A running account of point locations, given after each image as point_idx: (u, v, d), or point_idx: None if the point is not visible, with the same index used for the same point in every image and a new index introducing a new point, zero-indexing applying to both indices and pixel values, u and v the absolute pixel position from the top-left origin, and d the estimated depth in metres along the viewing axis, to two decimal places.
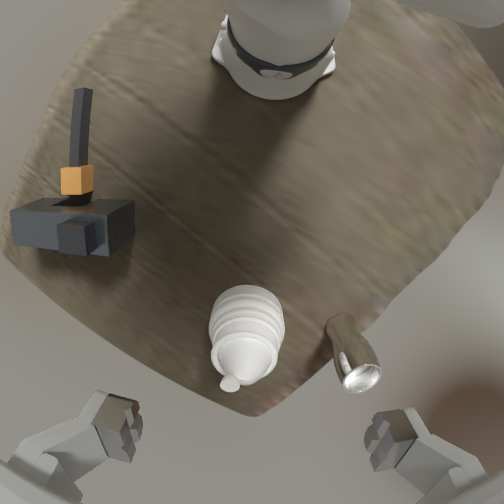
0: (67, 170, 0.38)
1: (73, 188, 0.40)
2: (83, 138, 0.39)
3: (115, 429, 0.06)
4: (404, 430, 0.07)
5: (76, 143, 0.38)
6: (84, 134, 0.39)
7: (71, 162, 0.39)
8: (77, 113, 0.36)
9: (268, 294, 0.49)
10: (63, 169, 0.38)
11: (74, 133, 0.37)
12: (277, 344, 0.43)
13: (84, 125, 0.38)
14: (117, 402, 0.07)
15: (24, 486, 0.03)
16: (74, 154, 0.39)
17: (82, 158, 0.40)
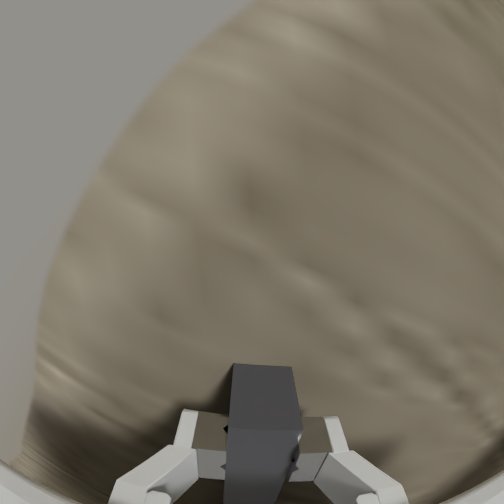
0: None
1: None
2: None
3: (220, 449, 0.06)
4: (316, 441, 0.07)
5: None
6: None
7: None
8: (255, 495, 0.08)
9: None
10: None
11: None
12: None
13: None
14: (212, 420, 0.07)
15: (24, 486, 0.03)
16: None
17: None
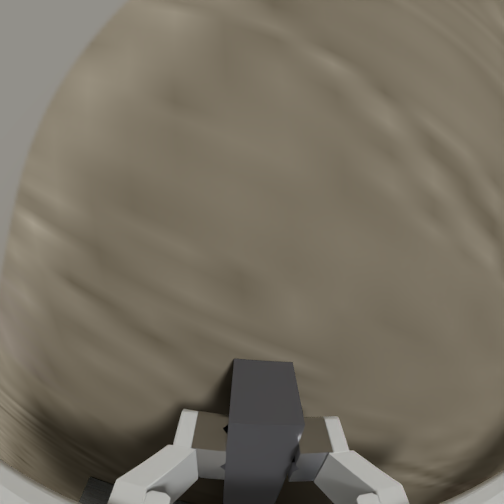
0: None
1: None
2: None
3: (220, 449, 0.06)
4: (316, 441, 0.07)
5: None
6: None
7: None
8: (256, 493, 0.08)
9: None
10: None
11: None
12: None
13: None
14: (212, 420, 0.07)
15: (24, 486, 0.03)
16: None
17: None
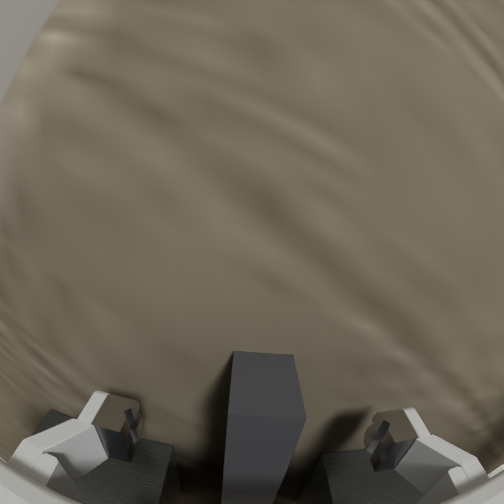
0: None
1: None
2: None
3: (115, 429, 0.06)
4: (404, 430, 0.07)
5: None
6: None
7: None
8: (255, 489, 0.08)
9: None
10: None
11: None
12: None
13: None
14: (117, 402, 0.07)
15: (24, 486, 0.03)
16: None
17: None
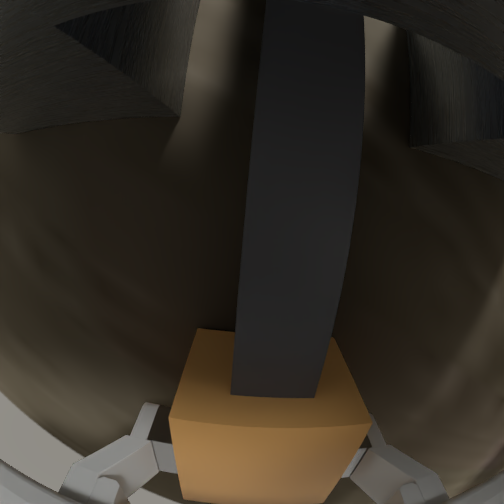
0: (239, 437, 0.05)
1: (274, 493, 0.06)
2: None
3: None
4: None
5: (322, 232, 0.05)
6: None
7: (252, 371, 0.06)
8: None
9: None
10: (197, 429, 0.05)
11: (301, 138, 0.05)
12: None
13: None
14: None
15: (24, 486, 0.03)
16: (291, 324, 0.06)
17: None
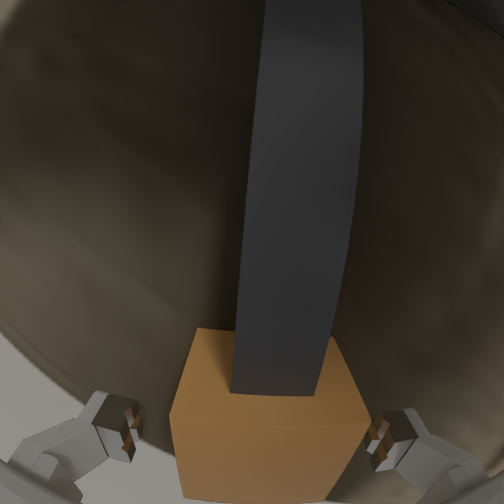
0: (239, 436, 0.05)
1: (274, 491, 0.06)
2: None
3: (115, 429, 0.06)
4: (403, 430, 0.07)
5: (321, 232, 0.05)
6: None
7: (252, 369, 0.06)
8: None
9: None
10: (198, 427, 0.05)
11: (301, 138, 0.05)
12: None
13: None
14: (117, 402, 0.07)
15: (24, 486, 0.03)
16: (291, 322, 0.06)
17: None
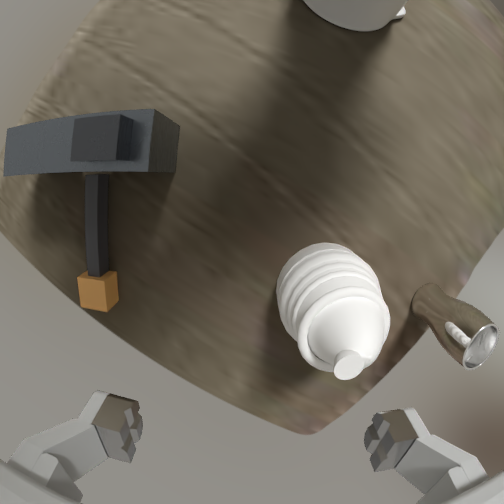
0: (86, 281, 0.34)
1: (95, 302, 0.35)
2: (102, 240, 0.35)
3: (115, 429, 0.06)
4: (404, 430, 0.07)
5: (94, 248, 0.34)
6: (103, 235, 0.35)
7: (89, 270, 0.34)
8: (92, 209, 0.32)
9: None
10: (80, 279, 0.34)
11: (90, 235, 0.33)
12: None
13: (102, 224, 0.34)
14: (117, 402, 0.07)
15: (24, 486, 0.03)
16: (93, 262, 0.34)
17: (102, 265, 0.35)
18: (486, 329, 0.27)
